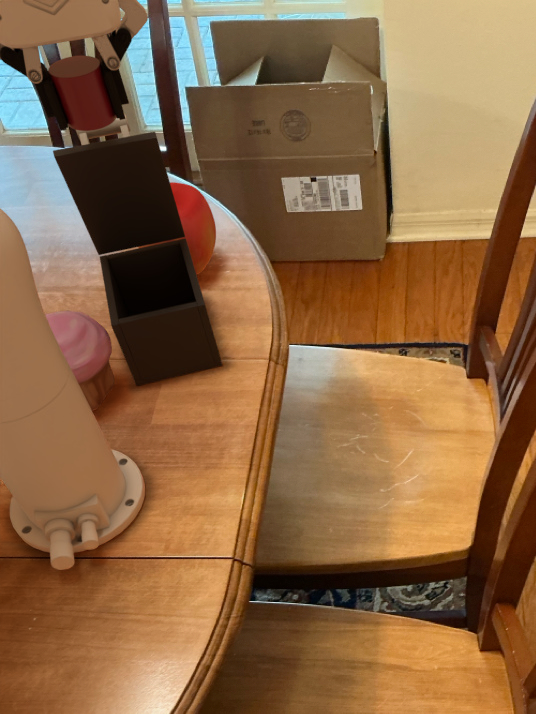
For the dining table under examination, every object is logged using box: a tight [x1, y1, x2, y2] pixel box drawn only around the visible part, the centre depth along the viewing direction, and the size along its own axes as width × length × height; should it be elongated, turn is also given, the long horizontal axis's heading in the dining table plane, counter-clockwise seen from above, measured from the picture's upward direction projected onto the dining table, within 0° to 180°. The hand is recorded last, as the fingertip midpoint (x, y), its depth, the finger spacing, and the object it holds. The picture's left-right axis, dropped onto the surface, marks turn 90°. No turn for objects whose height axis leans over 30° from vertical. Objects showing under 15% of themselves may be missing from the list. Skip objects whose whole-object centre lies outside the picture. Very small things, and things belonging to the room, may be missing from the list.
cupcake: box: [45, 310, 116, 412], centre depth 80 cm, size 9×9×10 cm
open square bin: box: [99, 238, 223, 387], centre depth 85 cm, size 13×10×8 cm
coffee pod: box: [47, 55, 116, 131], centre depth 68 cm, size 4×4×4 cm
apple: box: [137, 181, 217, 276], centre depth 93 cm, size 10×10×10 cm
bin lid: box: [52, 112, 185, 256], centre depth 80 cm, size 13×10×6 cm
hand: (91, 116), depth 69 cm, fingers closed on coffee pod, 4 cm apart
